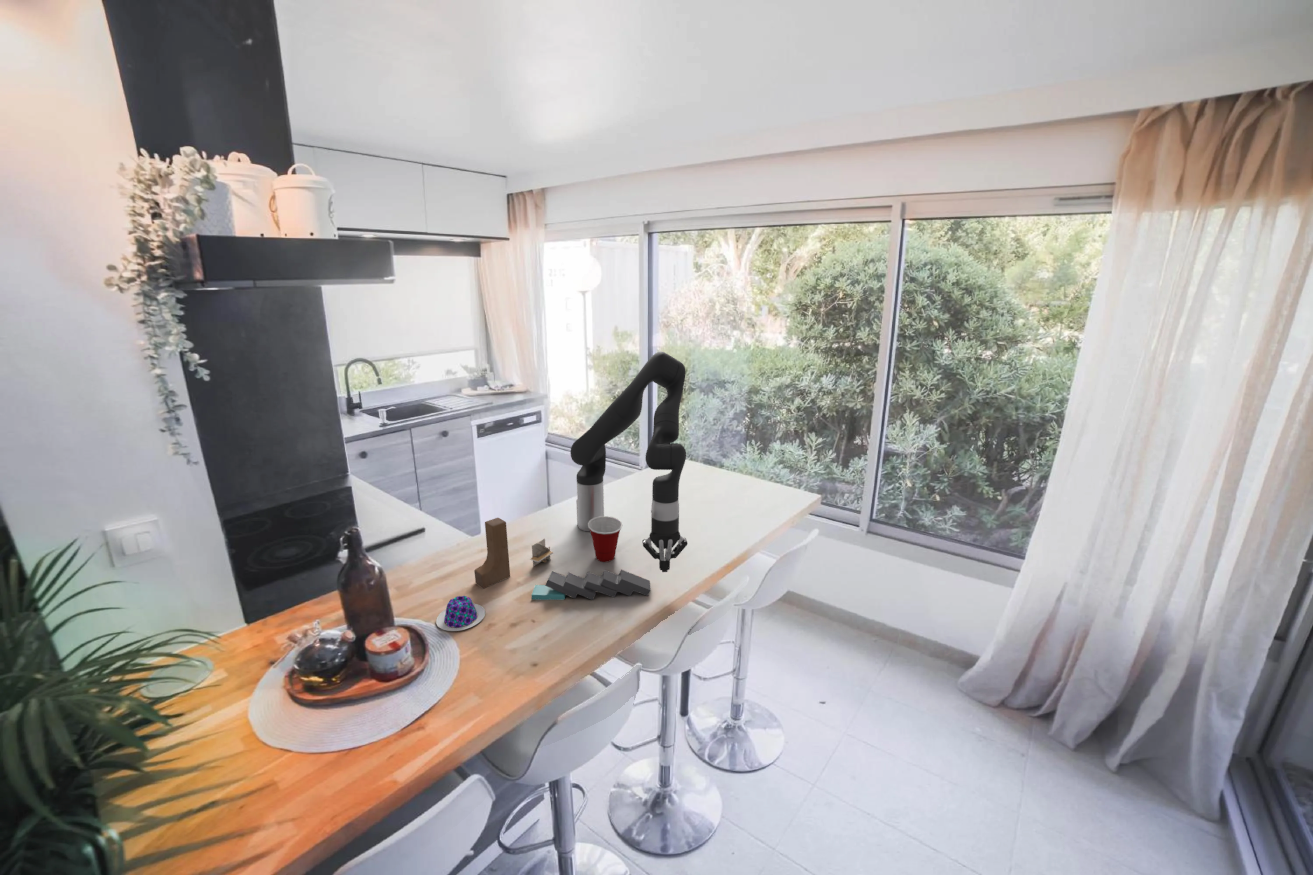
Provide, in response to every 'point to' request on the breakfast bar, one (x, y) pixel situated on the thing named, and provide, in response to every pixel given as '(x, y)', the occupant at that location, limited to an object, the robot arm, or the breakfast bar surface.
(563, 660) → the breakfast bar surface
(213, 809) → the breakfast bar surface
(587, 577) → the domino
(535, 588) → the domino
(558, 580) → the domino
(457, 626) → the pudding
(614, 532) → the plastic cup
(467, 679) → the breakfast bar surface
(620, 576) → the domino
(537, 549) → the architectural model
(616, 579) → the domino
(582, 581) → the domino
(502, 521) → the wooden block
